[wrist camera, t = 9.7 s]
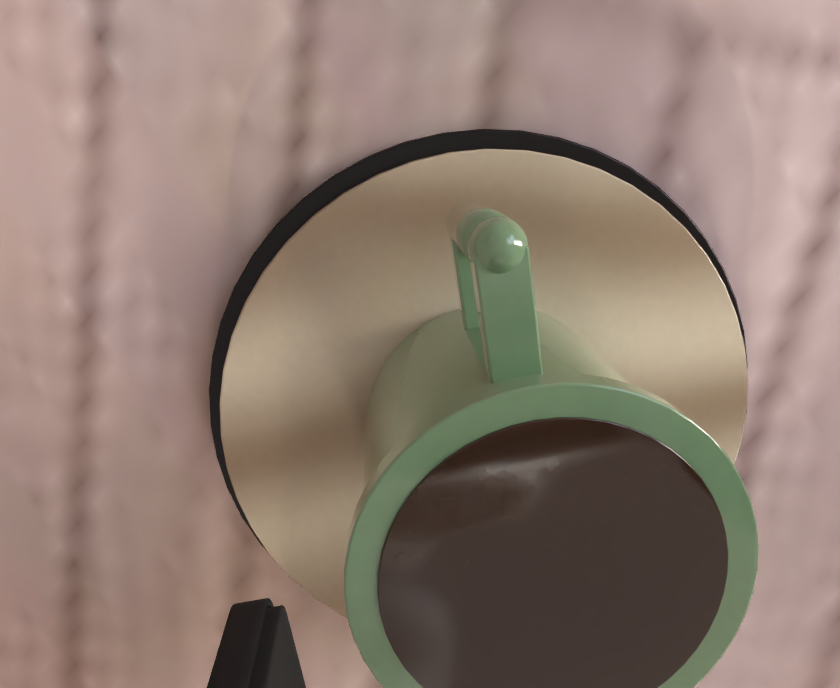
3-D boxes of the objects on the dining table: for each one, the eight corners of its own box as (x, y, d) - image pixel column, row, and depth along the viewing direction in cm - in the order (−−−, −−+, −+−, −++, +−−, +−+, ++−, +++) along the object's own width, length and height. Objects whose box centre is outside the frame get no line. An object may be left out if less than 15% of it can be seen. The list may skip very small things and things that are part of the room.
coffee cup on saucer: (743, 589, 23) (939, 825, 15) (285, 670, 23) (237, 954, 15) (728, 105, 19) (989, 78, 11) (165, 198, 18) (8, 240, 11)
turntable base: (606, 679, 25) (611, 692, 24) (150, 550, 22) (144, 561, 22) (832, 248, 21) (845, 252, 20) (314, 35, 18) (311, 32, 18)
